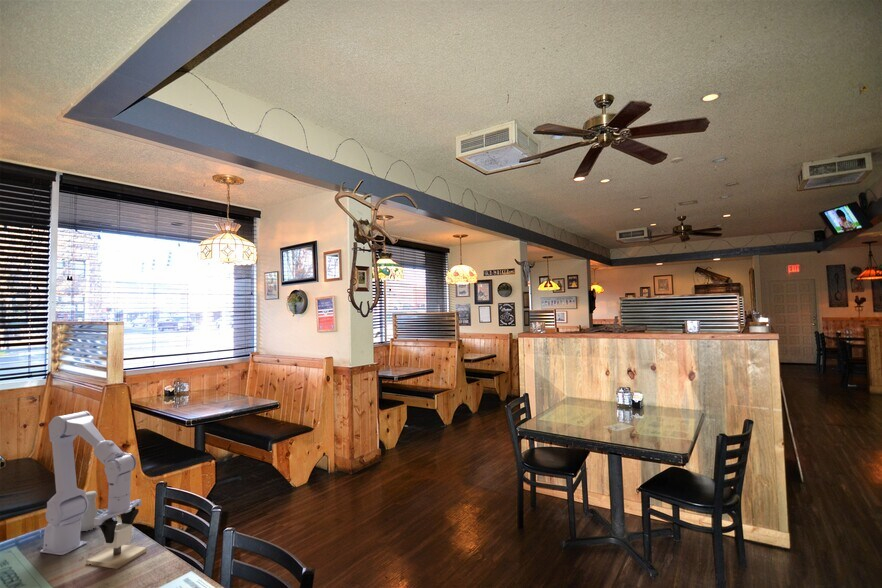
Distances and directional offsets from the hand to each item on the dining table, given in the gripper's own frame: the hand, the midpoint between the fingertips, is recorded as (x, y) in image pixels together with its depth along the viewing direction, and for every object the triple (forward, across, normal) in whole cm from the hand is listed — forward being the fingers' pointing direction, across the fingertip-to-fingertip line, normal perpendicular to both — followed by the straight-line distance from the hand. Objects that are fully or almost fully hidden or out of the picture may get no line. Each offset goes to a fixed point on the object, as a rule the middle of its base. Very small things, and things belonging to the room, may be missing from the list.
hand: (117, 538), depth 138 cm
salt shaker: (+6, +13, +28) cm, 31 cm away
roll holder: (+6, 0, 0) cm, 6 cm away
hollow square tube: (+2, 0, 0) cm, 2 cm away
